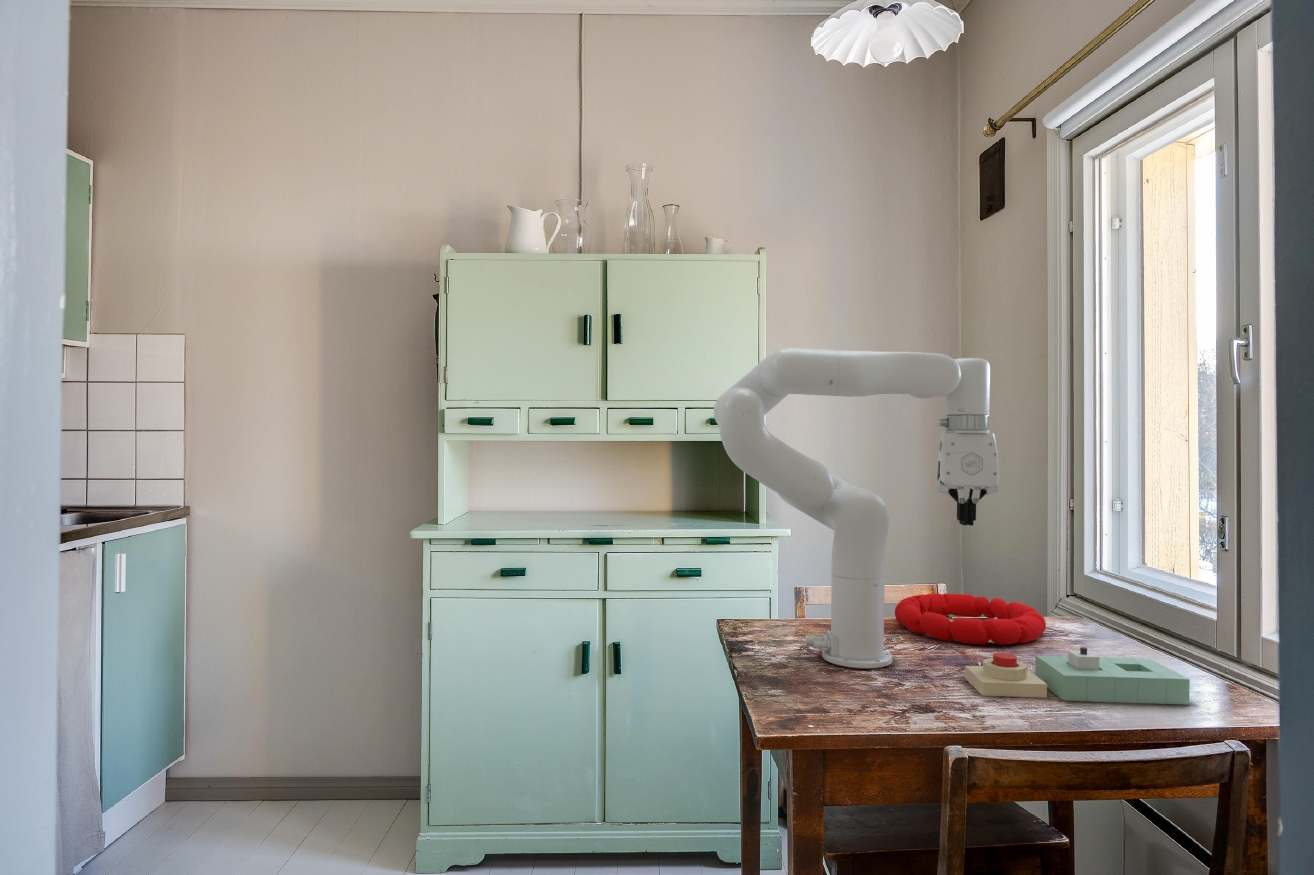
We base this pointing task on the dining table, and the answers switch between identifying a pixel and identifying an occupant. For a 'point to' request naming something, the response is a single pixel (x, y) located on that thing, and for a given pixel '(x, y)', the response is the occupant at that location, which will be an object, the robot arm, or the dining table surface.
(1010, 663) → the power button
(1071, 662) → the white block with knob
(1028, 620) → the decorative ring
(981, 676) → the switch box
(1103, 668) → the green socket board
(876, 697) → the dining table surface
